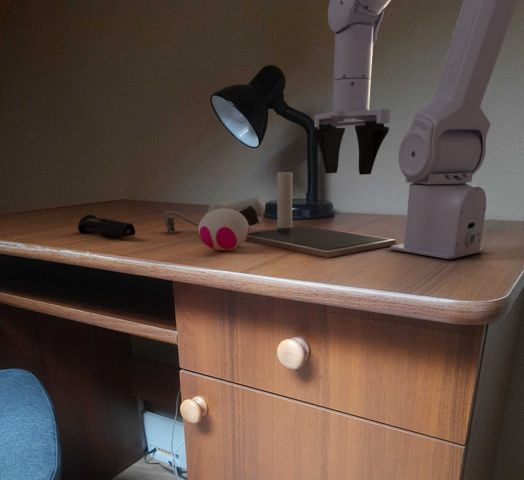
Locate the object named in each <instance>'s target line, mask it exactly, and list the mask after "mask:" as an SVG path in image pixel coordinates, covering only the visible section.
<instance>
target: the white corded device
mask: <svg viewBox="0 0 524 480" xmlns="http://www.w3.org/2000/svg"><path fill="white" fill-rule="evenodd" d="M221 208H227V209H232V210H235V211H237V212H239V213H241V214H242V215H243V216H244V217H245V218H246V220H247V222H248V224H249V227H250V226H254V225H257V224H258V225H260V224H261V218H260V217H262V216H263V215H264V213H265V211H266V205H265V202H264V201H263V199H262V198H260V197H258V196H255V197H250V198H247V199H242V200H237V201H234V202H227V201H224V200H215V201H213V202H211V203H210V205H209V206H208V209H207V211H206V213H205V215H206V214H207V213H209V212H211V211H213V210H216V209H221ZM168 214H173V215H175V216H177V217H179V218H181V219H183V220H184V221H186V222H188V223H189V224H191V225H193V226H196V227H199V224H200V222H195V221H193V220H191V219H190V218H188V217H186V216H184V215H183V214H180V213H178V212H176V211H174V210H167V211H165V212H164V214H163V220H164V223H165V227H166V230H167V232H168V233H169V234H173V233H174V232H175V218H174V216H169V217H167V215H168Z"/></svg>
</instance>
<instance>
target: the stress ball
mask: <svg viewBox="0 0 524 480" xmlns="http://www.w3.org/2000/svg"><path fill="white" fill-rule="evenodd" d="M206 213H207V212H206ZM206 213H205V214H204V216H203V217H202V218H201V220H199V219H197V221H198V223H200V224H199V226H198V228H197V229H198V231H197V232H198V237H199V239H200V240H201V241H202V242H203V244H204V245H205V246H207V247H208V248H210V249H212V250H215V251H212V252H210V254H213V253H216V252H219V251H221V252H226V251H227V252H228V251H232V250H234V249H237V248H239V247H240V246H242V245H243V244H244V243H245V241H247V240H246V239H247V237H248V234H249V233H250V226H249V224H248V222H247V220H246V218H245V217H244V216H243V215H242V214H241V213H239V212H237V211H235V210H232V209H227V208H221V209H216V210H213V211H211V212H209V213H207V214H206Z"/></svg>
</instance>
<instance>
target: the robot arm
mask: <svg viewBox="0 0 524 480" xmlns="http://www.w3.org/2000/svg"><path fill="white" fill-rule="evenodd" d="M391 1H392V0H329V2H328V8H327V22H328V26H329V28H330V30H331V31H332V32H333V33H334V53H333V54H334V56H333V81H332V82H333V83H332V84H333V85H332V86H333V87H332V111H329V112H326V113H319V114H315V115H314V125H313V126H314V128H315V129H313V130H312V131H313V132H312V134H313V136H314V138H315V140H316V142H317V145H318V148H319V150H320V153H321V156H322V162H323V166H324V172H325V174H337V173H338V168H339V161H340V160H339V159H340V149H341V145H342V140H343V137H344V134H345V131H346V126H347V127H348V126H354V131H355V134H356V138H357V145H358V173H359V175H362V176H363V175H371V174H372V171H373V167H374V165H375V161H376V158H377V155H378V153H379V150H380V147H381V146H382V144H383V142H384V140H385V138H386V137H387V135H388V133H389V132H390V126H385V125H386V124H390V123H391V113H392V109H391V108H388V109H387V108H375V109H370V98H371V82H372V81H371V79H372V67H373V66H372V65H373V49H374V48H373V47H375V46H376V42H377V41H378V32H379V28H380V26H381V25H382V24H381V23H382V22H383V21H382V20H383V18H384V12H385V8H386V7H387V5H388V4H389V3H390V2H391ZM518 1H519V0H463V1H462V4H461V8H460V10H459V13H458V18H457V21H456V24H455V27H454V31H453V34H452V37H451V41H450V44H449V46H448V51H447V54H446V58H445V61H444V64H443V67H442V70H441V73H440V77H439V81H438V84H437V87H436V90H435V94H434V97H433V98H432V99H430V101H428V102H427V103H425V104H424V105H423V106H422V107H421V108H420V109H418V110H417V111H416V112H415V113H414V115H413V118H412V122H411V124H410V127H409V129H408V130H407V132H406V133H405V135H404V136H403V138H402V140H401V143H400V146H399V149H398V165H399V169H400V171H401V173H402V175H403V177H404V178H405V183H406V184H409V189H408V197H407V198H408V199H407V211H406V219H405V220H406V221H405V232H404V242H403V243H398V244H395V245H393V246H389V247H390V248H389V249H390V250H393V251H399V252H404V253H411V254H415V255H421V256H426V257H433V258H438V259H443V260H453V259H457V258H461V257H466V256H470V255H474V254H478V253H481V252H483V250H484V249H483V248H482V247H481V245H482V237H483V232H484V231H483V230H484V223H485V217H486V211H487V195H486V192H485V190H484V189H483V188H482V187H481V186H479V185H471V184H468V183H472V181H473V175H475V174H476V173H477V172H478V171H479V170H480V168H481V167H482V165H483V163H484V161H485V158H486V152H487V137H488V133H489V130H490V128H491V121H490V119H489V118H488V117H487V114H486V113H485V112H484V110H483V109H482V107H481V106H482V103H483V99H484V97H485V94H486V91H487V88H488V85H489V82H490V80H491V78H492V74H493V72H494V69H495V65H496V63H497V61H498V57H499V54H500V52H501V49H502V46H503V43H504V40H505V37H506V34H507V32H508V29H509V27H510V23H511V21H512V17H513V15H514V12H515V9H516V7H517V4H518ZM345 120H356V121H345ZM316 128H317V129H316Z"/></svg>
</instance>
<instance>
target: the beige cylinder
mask: <svg viewBox="0 0 524 480" xmlns="http://www.w3.org/2000/svg"><path fill="white" fill-rule="evenodd" d="M276 191H277V192H276V194H277V195H276V204H277V205H276V209H277V210H276V215H277V217H276V219H277V223H276V227H277V229H278V231H279V232H290V231H291V227H293V172H291V171H289V172H286V171H285V172H277V173H276Z"/></svg>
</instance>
